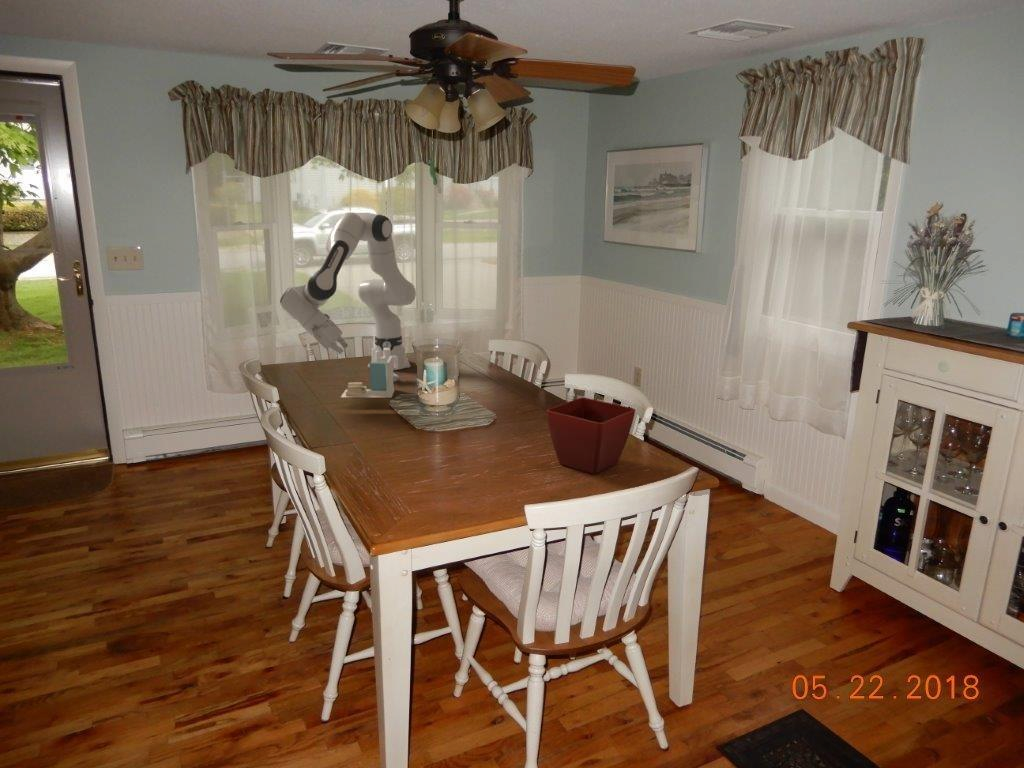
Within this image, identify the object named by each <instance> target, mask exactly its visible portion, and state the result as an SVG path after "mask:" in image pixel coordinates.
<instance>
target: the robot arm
mask: <svg viewBox="0 0 1024 768" xmlns="http://www.w3.org/2000/svg"><path fill="white" fill-rule="evenodd" d="M392 233H393V225H392V222H391V220H390V218H389V217H387V216H386V215H383V214H375V213H371V212H351V211H350V212H345V213H344V214H342V215H341V217H340V218H339V219H338V220H337V221H336V223H335V224H334V226H333V227H332V229H331V231H330V233H329V235H328V238H327V240H326V244H325V249H326V251H327V256H326V257H325V260H324V262H323V263H322V265H321V267H320V269H318V270H317V271H315V272H314V273H313V274H312V275H310V277H309V278H308V281H307V282H306V283H304V284H301V285H298V286H297V285H296V286H288V288H287V289H286V290H285V292H284V293H283V294H282V296H281V298H280V301H279V304H280V306H281V307H282V308H283V310H284V311H285V312H286V313H287V314H288V315H289V316H290V317H291V318H292V319H293V320H294V321H295V320H296V321H297V323H299V325H300V326H301V327H302V328H303V329H304V330H305V331H306V332H307V333H308V334H310V335H311V336H312V337H313V338H314V340H316V341H317V342H318V343H319V344H320V345H321V347H323V348H324V349H326V350H328V349H329V348H331V349H332V350H333V351H335V352H337V353H338V354H339V355H342V353H343V352H344V351H345V349H346V348H348V346H349V344H348V343H347V342H346V340H345V339H344V338H343V336H342V335H343V331H342V330H341V328H340V327H339V326H338V325H337V324H336V323H335V322H334V321H332V319H331V317H330V315H328V314H327V313H324V312H322V311H321V310H320V309H319V308H321V307H322V306H324V305H325V304H326V303H327V302H328V301H329V299H330V298H332V297H333V295H334V294H335V293H336V291H337V288H338V287H337V286H338V275H339V272H340V270H341V268H342V267H343V264H344V262H345V261H346V260H349V258H350V257H351V256H352V254H354V252H355V250H356V248H357V246H358V245H359V243H360V241H363V242H366V244H367V245H366V246H367V253H368V259H369V260H368V261H369V267H370V269H371V271H372V272H373V273H375V274H376V275H378V276H379V277H381V279H375V278H373V279H367V280H363V281H362V282H361V283H360V284H359V286H358V292H357V293H358V297H359V299H360V301H362V302H363V304H365V305H366V306H367V307H368V309H369V310H370V312H371V314H372V316H373V320H374V329H375V330H374V331H375V336H374V346H373V347H372V348H371V362H376V356H375V352H376V351H379V352H380V357H383V356H384V355H383V348H390V356H397V357H398V369H395V368H394V363H393V371H398V370H403V369H408V368H411V364H410V361H409V359H408V357H407V355H406V348H405V347H404V346H403V345H402V344H403V336H402V331H401V318H400V317H399V316H398V314H396V313H393V311H392V310H391V309H390V307H389V306H395V307H397V306H398V307H399V306H401V307H402V306H403V307H404V306H408V305H409V306H410V305H411V304H412V303H414V302H415V300H416V296H417V295H416V294H417V292H416V288H415V286H414V284H413V282H411V281H409V280H407V279H406V277H404V275H403V274H402V272H401V270H400V269H399V267H398V264H397V258H396V252H395V246H394V240H393V237H392ZM336 342H337V343H339V344H340V345H341V347H340V346H339V345H337V343H336ZM367 368H370V366H369V363H368V364H367Z"/></svg>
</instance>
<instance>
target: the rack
mask: <svg viewBox="0 0 1024 768" xmlns="http://www.w3.org/2000/svg"><path fill="white" fill-rule="evenodd" d="M386 367H387V391H378V390H370V388H369V389H368V388H367V391H366V392H365V394H364V396H346V390H347V389H348V388H347V389H345V390H344V391H343V393H342V394H341V396H340V398H377V399H378V398H379V399H380V398H392V397H393V395H394V393H395V389H394V386H395V385H394V382H393V373H394V370H393V356H390V357H389V359H388V361H387V362H386Z"/></svg>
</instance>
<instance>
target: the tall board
mask: <svg viewBox="0 0 1024 768" xmlns="http://www.w3.org/2000/svg"><path fill="white" fill-rule="evenodd" d="M368 364H369V366H370V367H369V384H370V386H369V387H370V388H369V389H370V390H378V391H387V378H386V362H372V361H370V362H369V363H368Z"/></svg>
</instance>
